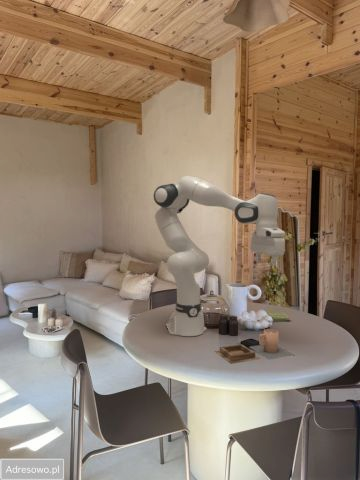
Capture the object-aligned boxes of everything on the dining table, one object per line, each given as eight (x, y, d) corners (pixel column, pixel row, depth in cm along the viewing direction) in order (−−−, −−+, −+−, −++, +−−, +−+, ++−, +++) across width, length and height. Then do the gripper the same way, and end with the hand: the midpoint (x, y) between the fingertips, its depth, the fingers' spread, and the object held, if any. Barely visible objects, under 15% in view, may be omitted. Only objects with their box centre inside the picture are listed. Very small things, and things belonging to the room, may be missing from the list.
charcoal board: (248, 350, 152) (248, 346, 152) (272, 346, 156) (272, 343, 156) (268, 363, 139) (268, 359, 138) (294, 358, 143) (294, 354, 143)
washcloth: (292, 322, 193) (292, 316, 192) (259, 323, 191) (259, 317, 191) (283, 315, 206) (283, 309, 205) (252, 316, 204) (252, 310, 204)
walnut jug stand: (214, 355, 146) (214, 346, 146) (242, 350, 151) (242, 342, 151) (230, 367, 134) (230, 358, 134) (260, 362, 139) (260, 353, 139)
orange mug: (255, 349, 148) (256, 330, 148) (272, 347, 151) (273, 328, 150) (263, 354, 143) (264, 334, 142) (281, 352, 146) (281, 332, 145)
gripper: (247, 230, 163) (246, 261, 164) (274, 233, 144) (274, 267, 145) (259, 230, 165) (258, 261, 166) (288, 232, 147) (287, 267, 147)
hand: (266, 264), depth 156 cm, fingers open, 8 cm apart
